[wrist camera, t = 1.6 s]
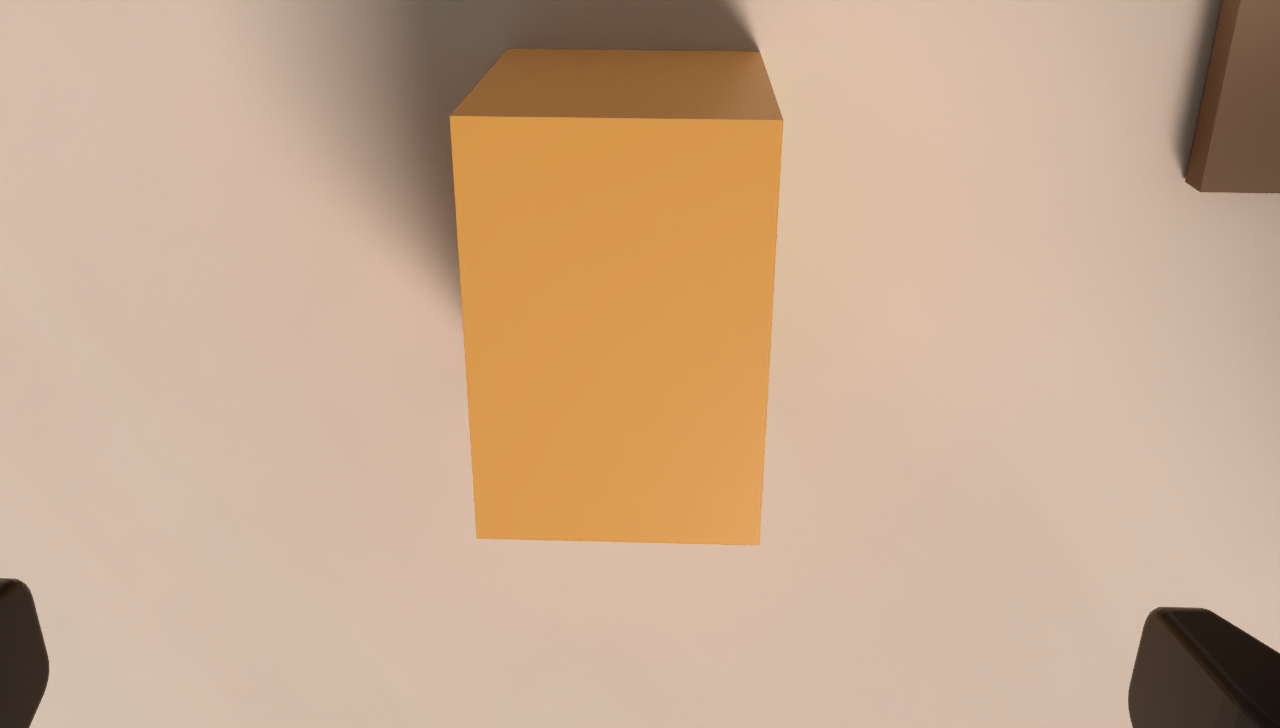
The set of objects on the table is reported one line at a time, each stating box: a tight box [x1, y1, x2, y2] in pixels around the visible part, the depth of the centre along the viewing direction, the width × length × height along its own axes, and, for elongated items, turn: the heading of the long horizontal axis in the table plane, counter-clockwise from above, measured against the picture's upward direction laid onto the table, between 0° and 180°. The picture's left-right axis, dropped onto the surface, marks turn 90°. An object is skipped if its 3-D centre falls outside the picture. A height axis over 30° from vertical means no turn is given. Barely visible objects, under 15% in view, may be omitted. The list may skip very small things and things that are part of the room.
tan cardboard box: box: [450, 49, 783, 545], centre depth 17 cm, size 6×4×5 cm, turn 0°
